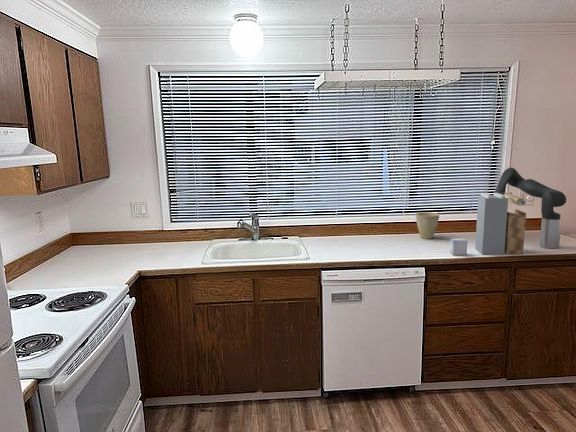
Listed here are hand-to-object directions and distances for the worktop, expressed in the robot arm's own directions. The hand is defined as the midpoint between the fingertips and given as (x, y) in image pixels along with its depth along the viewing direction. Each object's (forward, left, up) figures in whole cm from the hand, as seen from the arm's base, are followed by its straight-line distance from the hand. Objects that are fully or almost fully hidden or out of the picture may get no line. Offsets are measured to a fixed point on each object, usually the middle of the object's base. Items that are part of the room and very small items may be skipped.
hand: (507, 194), depth 253 cm
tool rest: (0, +9, -32) cm, 33 cm away
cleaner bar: (0, +8, -3) cm, 9 cm away
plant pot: (+40, -24, -32) cm, 57 cm away
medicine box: (+31, +17, -32) cm, 48 cm away
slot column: (+12, +11, -32) cm, 36 cm away
